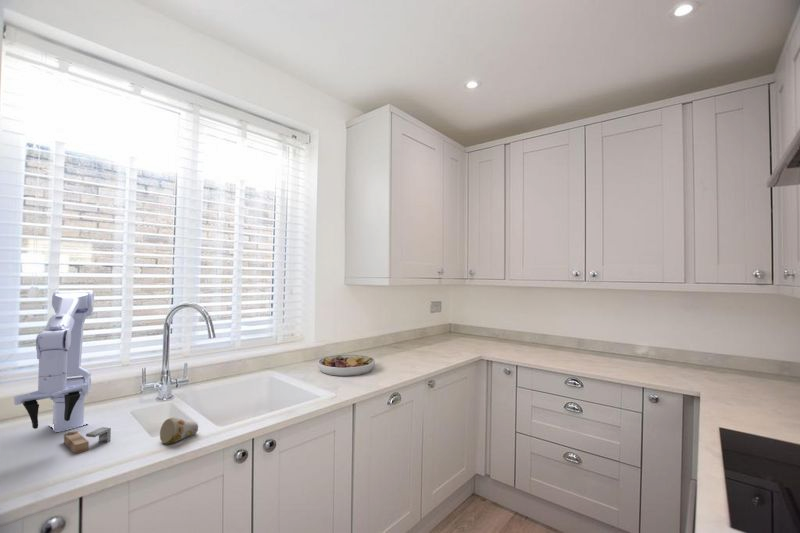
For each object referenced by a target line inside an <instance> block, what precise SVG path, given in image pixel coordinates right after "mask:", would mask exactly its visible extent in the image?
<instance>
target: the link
mask: <svg viewBox="0 0 800 533" xmlns="http://www.w3.org/2000/svg"><path fill="white" fill-rule="evenodd" d="M63 444H64V445H66V447H67V448H69V449H70V450H71V451H72V452H73V453H74V454H75V455H77V454H80V453H83V452H87V451H89V445H90V444H89V440H88V439H86V438H85V437H84V436H83V435H81V433H80V432H78V431H75V430H74V429H70V430H67V432H65V433H64V434H63Z"/></svg>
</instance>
